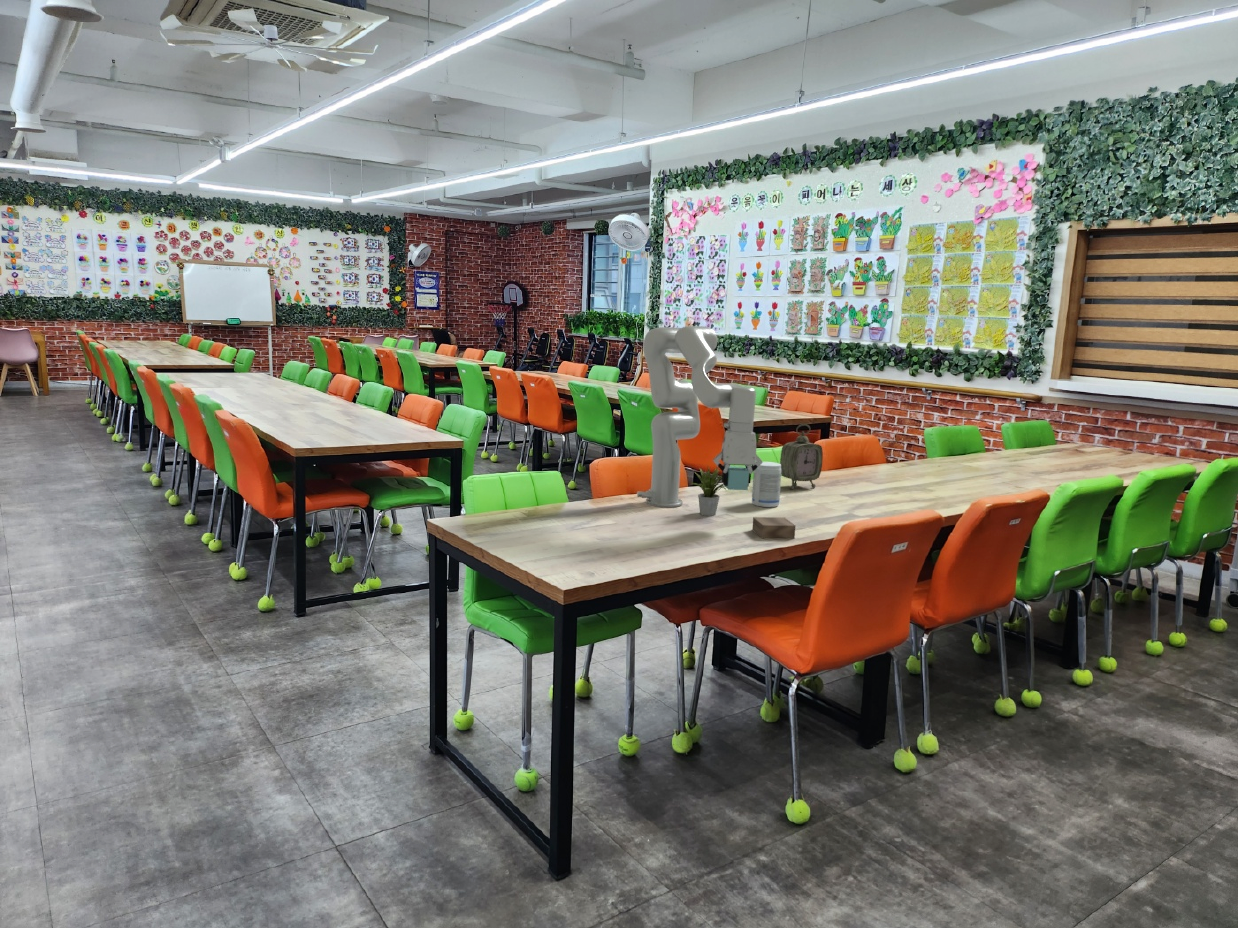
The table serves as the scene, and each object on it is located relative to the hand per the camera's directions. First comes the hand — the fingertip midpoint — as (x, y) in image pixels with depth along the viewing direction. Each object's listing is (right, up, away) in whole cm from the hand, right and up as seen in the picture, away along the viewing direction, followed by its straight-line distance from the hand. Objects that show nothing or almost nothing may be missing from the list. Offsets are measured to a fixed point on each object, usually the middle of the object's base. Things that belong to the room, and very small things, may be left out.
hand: (735, 484), depth 261 cm
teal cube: (0, -1, 0) cm, 1 cm away
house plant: (-6, -11, +17) cm, 21 cm away
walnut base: (+11, -15, -4) cm, 19 cm away
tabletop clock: (+34, -3, +69) cm, 77 cm away
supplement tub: (+15, -8, +36) cm, 40 cm away
